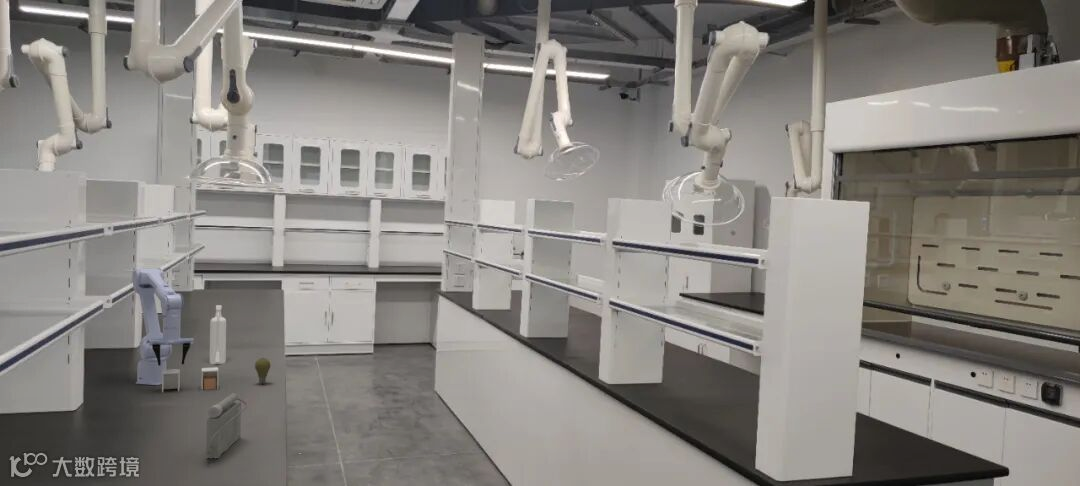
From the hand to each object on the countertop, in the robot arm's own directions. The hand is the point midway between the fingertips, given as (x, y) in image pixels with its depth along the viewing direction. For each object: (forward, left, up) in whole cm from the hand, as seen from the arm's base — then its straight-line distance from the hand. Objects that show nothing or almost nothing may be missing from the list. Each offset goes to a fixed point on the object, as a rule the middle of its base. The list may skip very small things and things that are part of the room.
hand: (171, 364), depth 274 cm
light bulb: (+26, +19, -10) cm, 33 cm away
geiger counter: (+57, -56, -10) cm, 80 cm away
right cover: (+11, +7, -9) cm, 16 cm away
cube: (+11, +7, -10) cm, 16 cm away
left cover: (0, 0, -9) cm, 9 cm away
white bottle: (-12, +49, -10) cm, 51 cm away
